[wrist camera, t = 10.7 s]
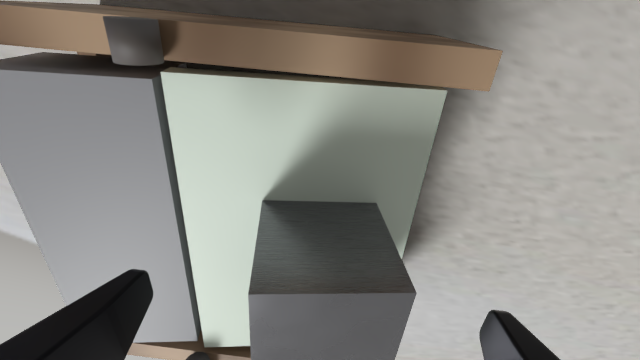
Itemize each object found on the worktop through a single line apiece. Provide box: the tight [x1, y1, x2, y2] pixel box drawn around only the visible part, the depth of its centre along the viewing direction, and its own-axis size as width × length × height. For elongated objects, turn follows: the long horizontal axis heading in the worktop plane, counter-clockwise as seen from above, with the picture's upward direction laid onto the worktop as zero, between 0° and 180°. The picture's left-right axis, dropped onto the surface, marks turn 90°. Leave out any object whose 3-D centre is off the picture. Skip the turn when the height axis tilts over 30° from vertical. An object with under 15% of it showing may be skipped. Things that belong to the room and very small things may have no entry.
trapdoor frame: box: [0, 1, 503, 360], centre depth 17 cm, size 18×18×9 cm
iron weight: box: [248, 200, 416, 360], centre depth 12 cm, size 5×5×5 cm
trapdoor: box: [0, 52, 447, 347], centre depth 16 cm, size 17×15×4 cm
